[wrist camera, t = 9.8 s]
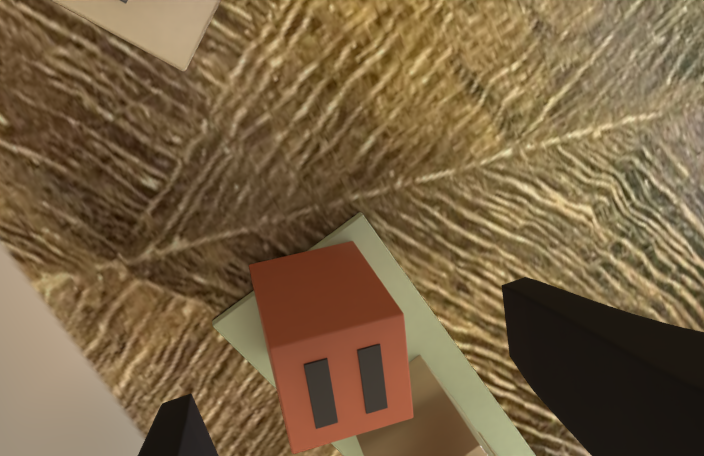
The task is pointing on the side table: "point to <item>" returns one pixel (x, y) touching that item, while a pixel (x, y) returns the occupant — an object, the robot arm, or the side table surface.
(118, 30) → the beige dark-barred block
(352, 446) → the word mat
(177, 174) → the side table surface
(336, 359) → the red slotted block
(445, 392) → the tan slotted block
